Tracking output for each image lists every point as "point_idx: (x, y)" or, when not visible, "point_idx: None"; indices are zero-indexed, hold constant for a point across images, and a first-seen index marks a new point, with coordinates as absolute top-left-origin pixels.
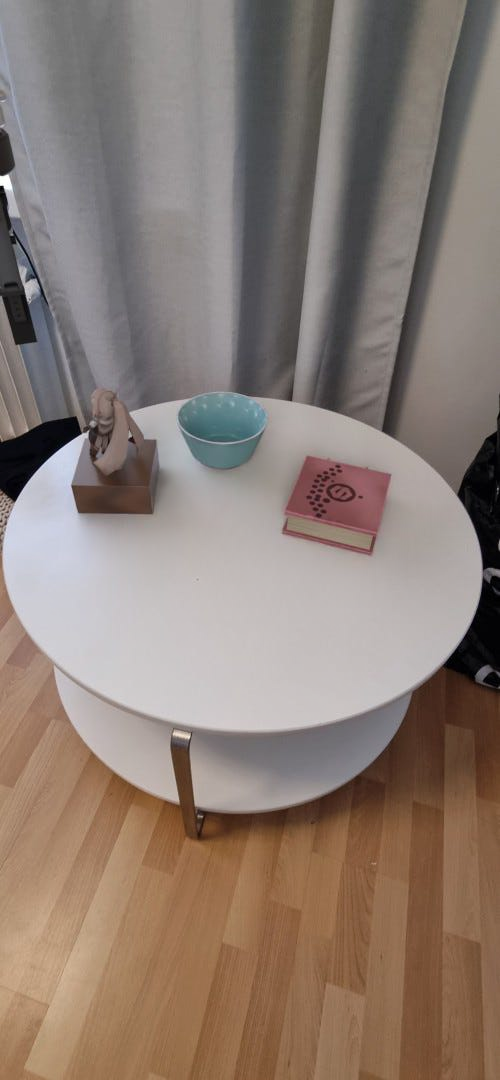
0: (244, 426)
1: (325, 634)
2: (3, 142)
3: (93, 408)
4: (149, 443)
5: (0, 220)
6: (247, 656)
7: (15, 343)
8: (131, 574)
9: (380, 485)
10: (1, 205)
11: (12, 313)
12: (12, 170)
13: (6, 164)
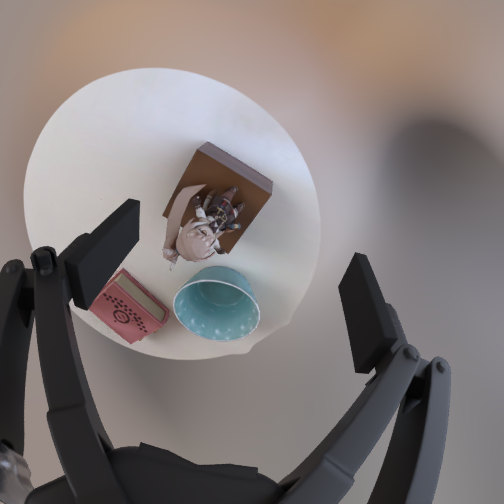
0: (228, 316)
1: (56, 241)
2: None
3: (187, 227)
4: (225, 245)
5: None
6: (50, 198)
7: (126, 201)
8: (120, 157)
9: (122, 334)
10: None
11: (70, 244)
12: None
13: None
